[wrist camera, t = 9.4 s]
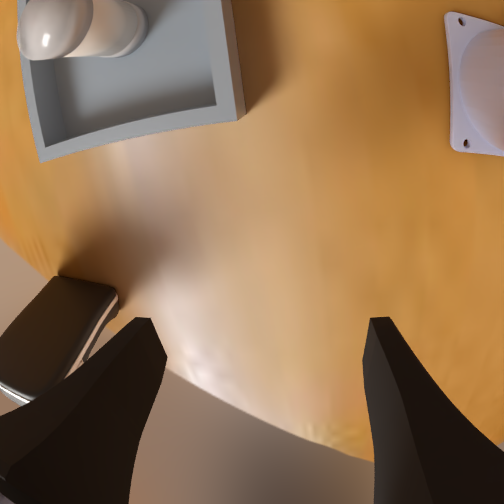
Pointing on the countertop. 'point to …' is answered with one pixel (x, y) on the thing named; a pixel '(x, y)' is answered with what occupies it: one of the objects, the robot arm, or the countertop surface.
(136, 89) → the parts tray
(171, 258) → the countertop surface
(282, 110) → the countertop surface
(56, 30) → the cylinder
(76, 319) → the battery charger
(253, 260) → the countertop surface
